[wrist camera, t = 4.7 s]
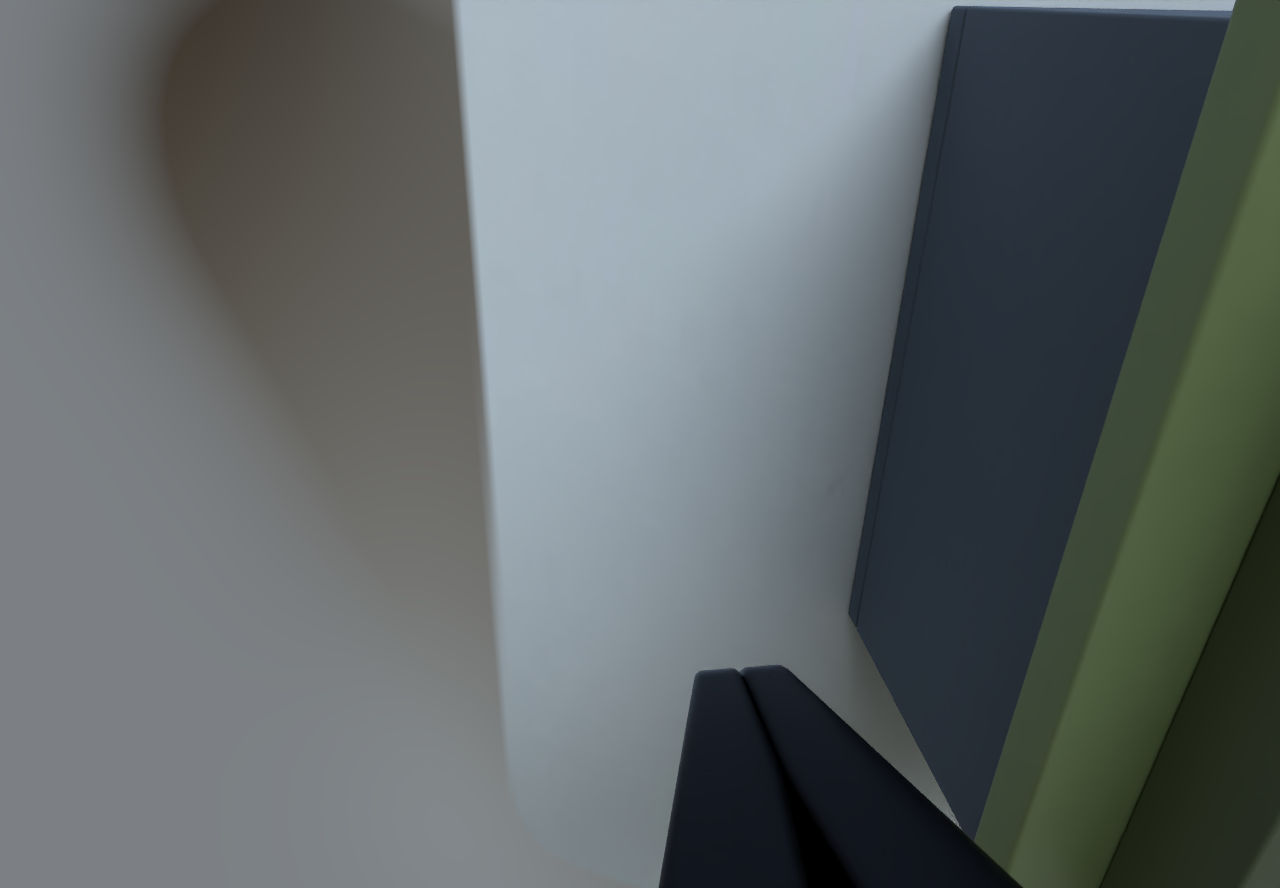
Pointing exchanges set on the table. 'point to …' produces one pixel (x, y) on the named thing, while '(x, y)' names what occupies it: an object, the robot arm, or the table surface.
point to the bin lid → (1173, 553)
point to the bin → (1014, 347)
